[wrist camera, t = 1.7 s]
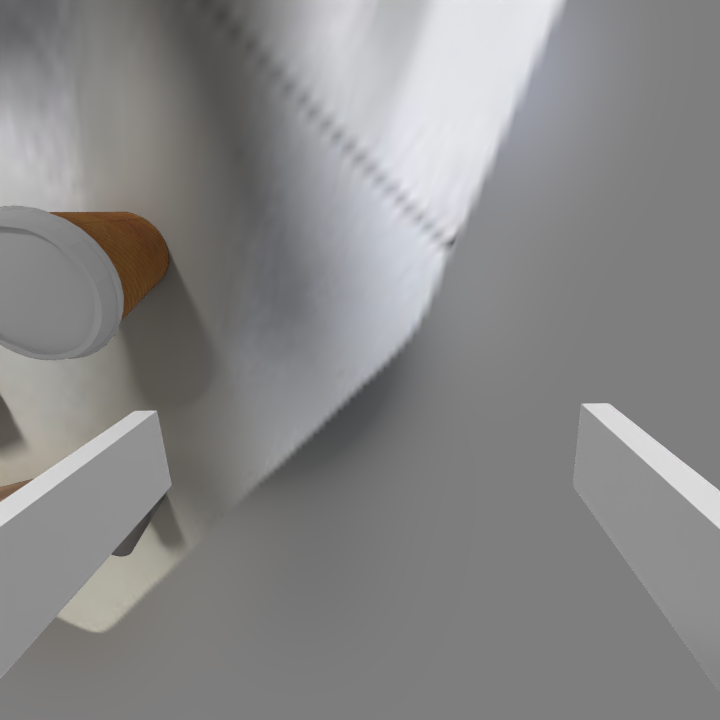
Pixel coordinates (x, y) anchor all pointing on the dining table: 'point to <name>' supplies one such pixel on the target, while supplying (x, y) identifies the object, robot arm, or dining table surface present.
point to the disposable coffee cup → (72, 278)
